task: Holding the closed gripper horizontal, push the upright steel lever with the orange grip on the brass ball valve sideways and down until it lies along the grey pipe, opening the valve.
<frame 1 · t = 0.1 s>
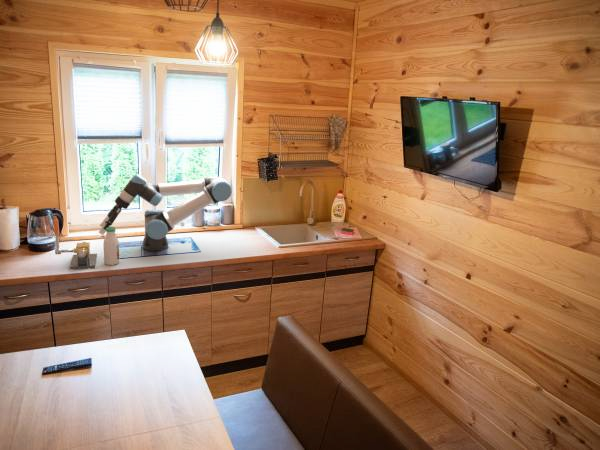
hand: (101, 230, 254), 16 cm above the table, tool tilted 35°, fingers open, 13 cm apart
valve stand: (84, 262, 249), on the table
milk bottle: (111, 263, 251), on the table, touching gripper
valve lever: (63, 237, 241), point 15 cm above the table, hinge at 0.0°
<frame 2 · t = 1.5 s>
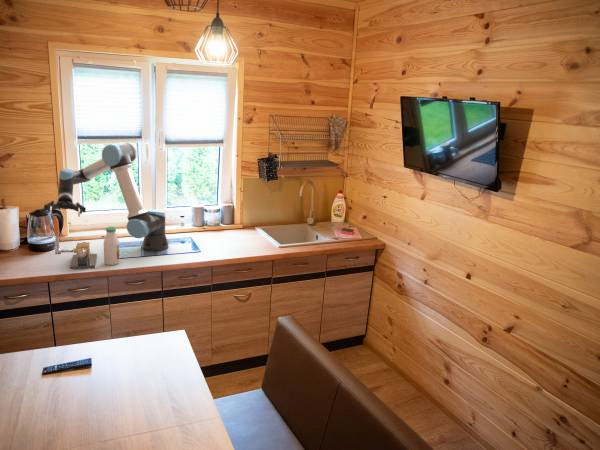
hand: (65, 213, 246), 25 cm above the table, tool horizontal, fingers open, 13 cm apart
milk bottle: (111, 262, 251), on the table
everything else where it was.
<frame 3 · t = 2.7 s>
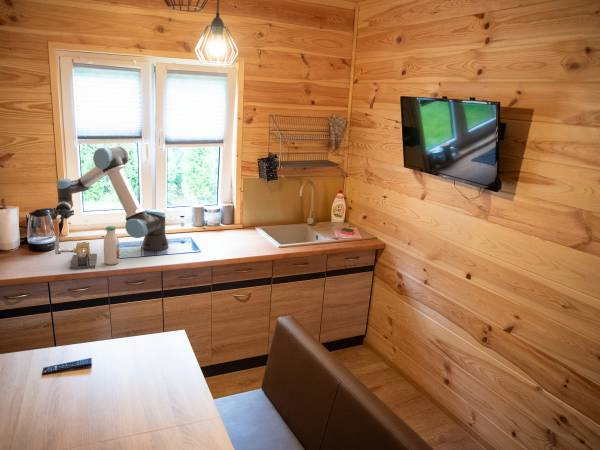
hand: (58, 220, 247), 21 cm above the table, tool horizontal, fingers closed
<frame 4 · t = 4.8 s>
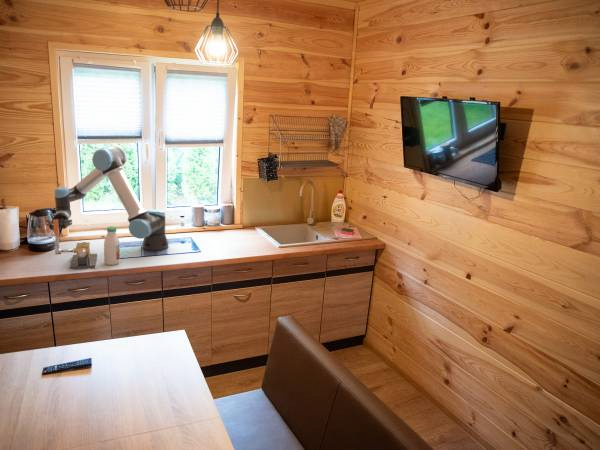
hand: (55, 230, 240), 18 cm above the table, tool horizontal, fingers closed
valve lever: (63, 237, 241), point 15 cm above the table, hinge at 1.4°, touching gripper
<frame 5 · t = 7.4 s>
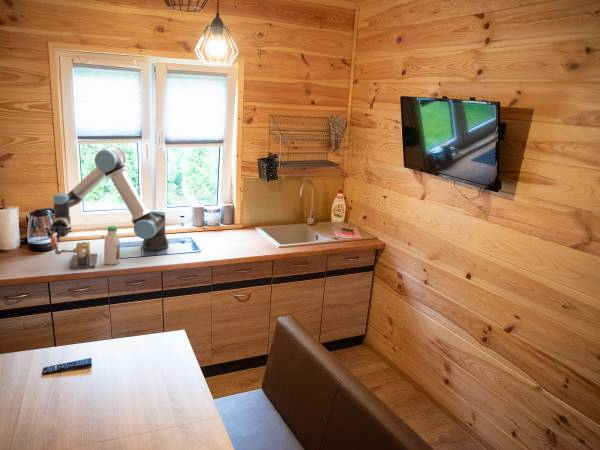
hand: (53, 238, 233), 16 cm above the table, tool horizontal, fingers closed
valve lever: (62, 246, 237), point 12 cm above the table, hinge at 52.8°, touching gripper
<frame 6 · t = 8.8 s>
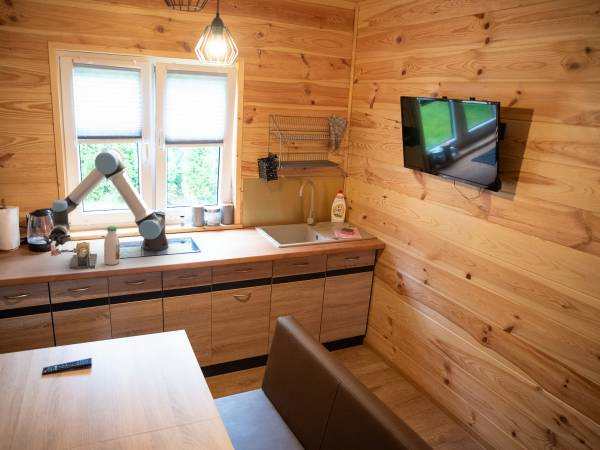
hand: (52, 247, 227), 14 cm above the table, tool horizontal, fingers closed
valve lever: (62, 251, 236), point 9 cm above the table, hinge at 74.2°, touching gripper
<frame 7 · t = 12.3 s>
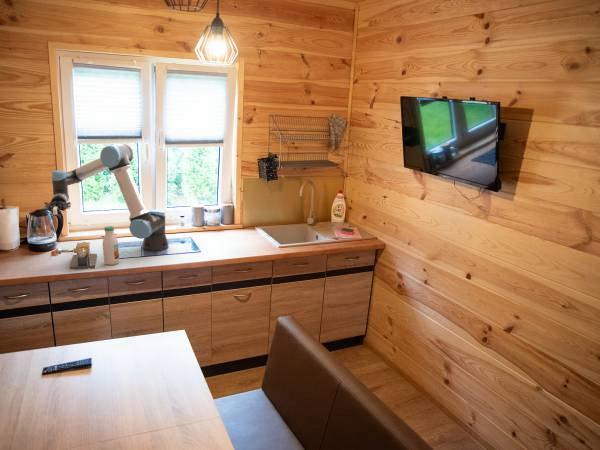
hand: (54, 212, 237), 28 cm above the table, tool horizontal, fingers closed
valve lever: (62, 252, 236), point 9 cm above the table, hinge at 75.1°
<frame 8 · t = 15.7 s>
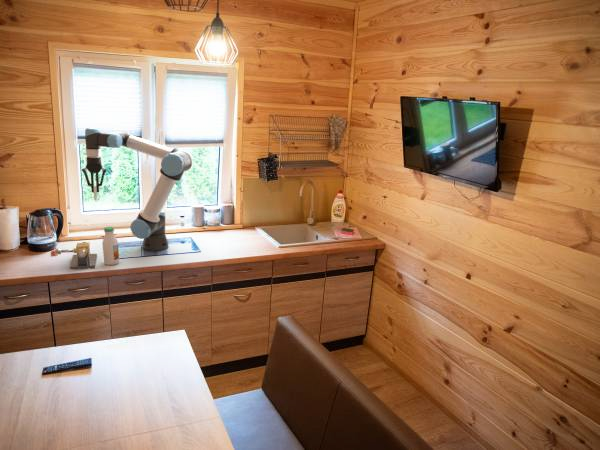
hand: (95, 197, 263), 30 cm above the table, tool pointing down, fingers closed
at the end: valve lever at +75° (first picture: +0°); milk bottle moved 0.1 cm from its start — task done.
